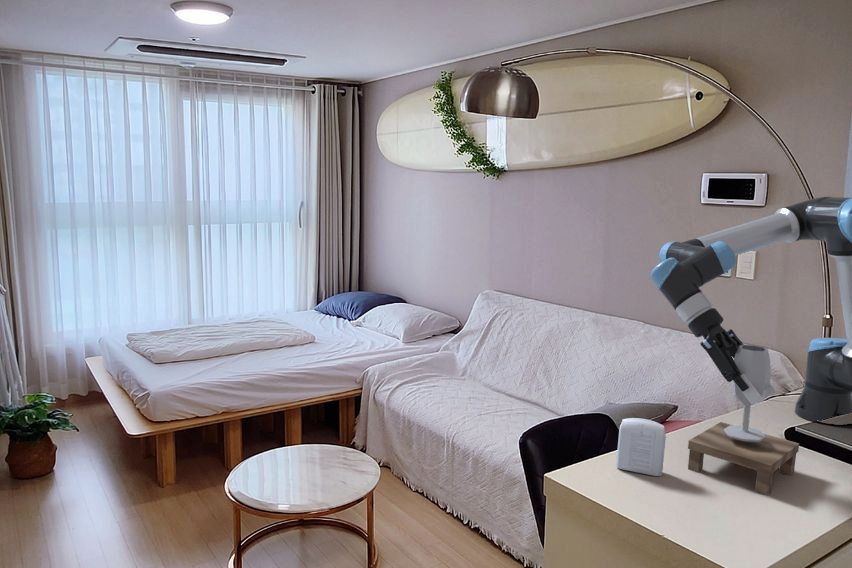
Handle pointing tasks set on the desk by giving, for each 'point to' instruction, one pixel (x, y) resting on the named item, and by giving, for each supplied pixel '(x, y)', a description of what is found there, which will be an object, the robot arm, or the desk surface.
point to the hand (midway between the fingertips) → (764, 397)
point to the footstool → (744, 454)
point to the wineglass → (758, 372)
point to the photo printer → (641, 446)
